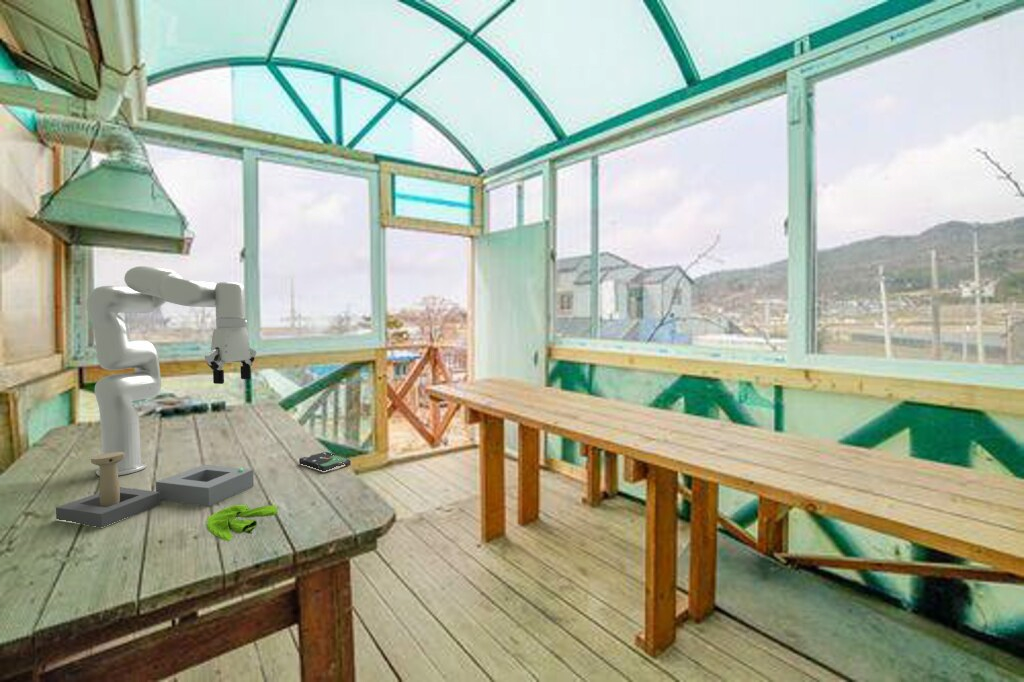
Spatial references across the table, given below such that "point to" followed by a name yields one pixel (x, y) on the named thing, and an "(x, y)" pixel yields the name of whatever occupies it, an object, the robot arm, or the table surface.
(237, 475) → the port block
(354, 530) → the table surface
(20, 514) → the table surface
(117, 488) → the handle
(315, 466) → the disk drive
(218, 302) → the robot arm
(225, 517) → the cloth
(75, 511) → the grey square frame
